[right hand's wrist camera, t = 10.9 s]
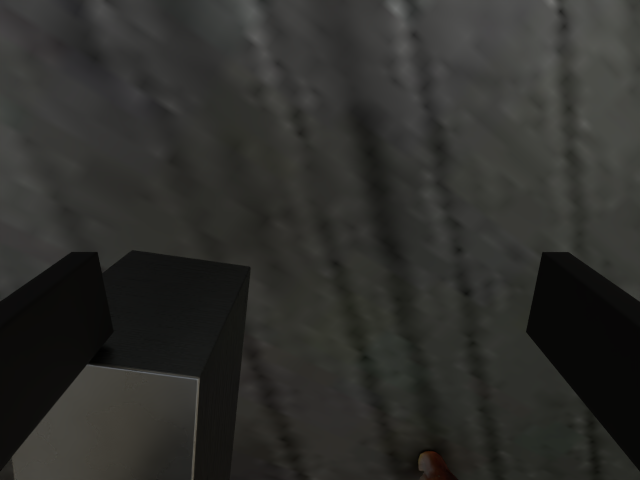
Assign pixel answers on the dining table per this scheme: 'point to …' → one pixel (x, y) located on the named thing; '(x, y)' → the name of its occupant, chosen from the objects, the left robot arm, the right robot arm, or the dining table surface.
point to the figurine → (434, 467)
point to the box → (152, 379)
